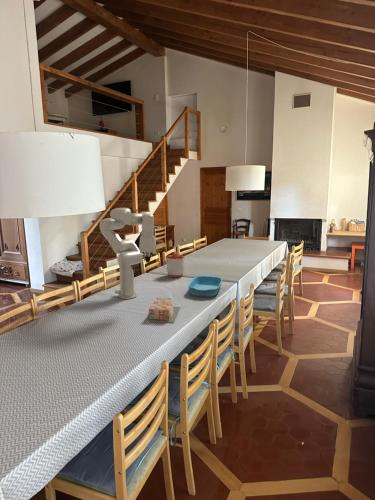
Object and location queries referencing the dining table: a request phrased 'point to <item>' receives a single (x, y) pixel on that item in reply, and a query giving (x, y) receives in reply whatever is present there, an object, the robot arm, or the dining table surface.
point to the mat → (172, 319)
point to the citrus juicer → (175, 265)
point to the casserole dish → (205, 286)
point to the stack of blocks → (161, 309)
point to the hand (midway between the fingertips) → (147, 262)
